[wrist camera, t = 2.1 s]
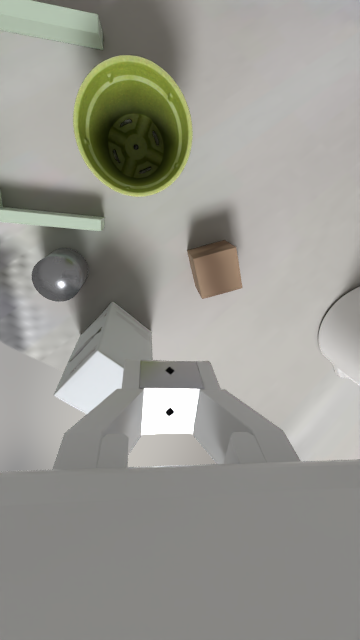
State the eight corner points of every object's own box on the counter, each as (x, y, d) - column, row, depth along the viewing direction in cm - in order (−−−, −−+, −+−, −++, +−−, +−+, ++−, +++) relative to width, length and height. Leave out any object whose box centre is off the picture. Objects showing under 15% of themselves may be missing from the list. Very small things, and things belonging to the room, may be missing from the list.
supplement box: (112, 299, 37) (98, 348, 25) (152, 331, 40) (156, 389, 28) (78, 335, 38) (50, 396, 27) (119, 364, 41) (109, 430, 30)
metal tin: (87, 249, 34) (79, 259, 29) (89, 288, 36) (81, 302, 31) (44, 246, 33) (29, 255, 28) (48, 286, 35) (34, 300, 30)
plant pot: (156, 74, 27) (162, 28, 19) (192, 172, 31) (209, 167, 24) (74, 118, 28) (47, 91, 20) (120, 209, 32) (112, 215, 24)
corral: (102, 32, 25) (98, 14, 23) (104, 227, 33) (100, 231, 30) (-43, 3, 24) (-67, -21, 21) (-7, 217, 31) (-22, 219, 28)
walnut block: (224, 239, 35) (236, 247, 31) (230, 276, 37) (242, 288, 33) (186, 250, 35) (193, 259, 31) (195, 285, 37) (202, 299, 33)
